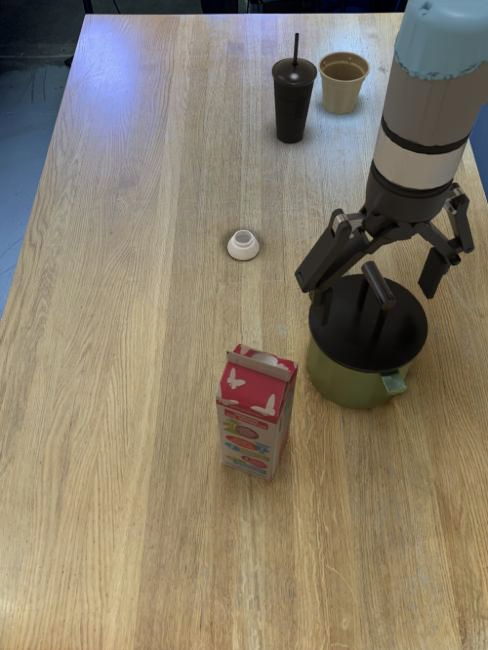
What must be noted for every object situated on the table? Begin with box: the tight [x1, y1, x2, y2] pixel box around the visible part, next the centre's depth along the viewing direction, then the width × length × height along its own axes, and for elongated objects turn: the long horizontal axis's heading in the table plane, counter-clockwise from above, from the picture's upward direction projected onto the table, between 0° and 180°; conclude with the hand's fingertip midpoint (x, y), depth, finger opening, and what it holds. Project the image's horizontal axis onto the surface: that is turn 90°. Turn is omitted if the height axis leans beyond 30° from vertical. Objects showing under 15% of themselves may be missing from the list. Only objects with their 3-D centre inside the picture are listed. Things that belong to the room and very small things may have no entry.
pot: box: [305, 270, 413, 410], centre depth 80 cm, size 14×19×10 cm
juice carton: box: [214, 343, 299, 483], centre depth 68 cm, size 7×7×22 cm
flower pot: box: [317, 50, 371, 115], centre depth 113 cm, size 9×9×9 cm
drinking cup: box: [271, 32, 318, 145], centre depth 103 cm, size 8×8×20 cm
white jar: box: [226, 229, 260, 261], centre depth 95 cm, size 5×3×5 cm
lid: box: [307, 260, 429, 374], centre depth 72 cm, size 15×15×9 cm
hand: (373, 303), depth 72 cm, fingers open, 13 cm apart
